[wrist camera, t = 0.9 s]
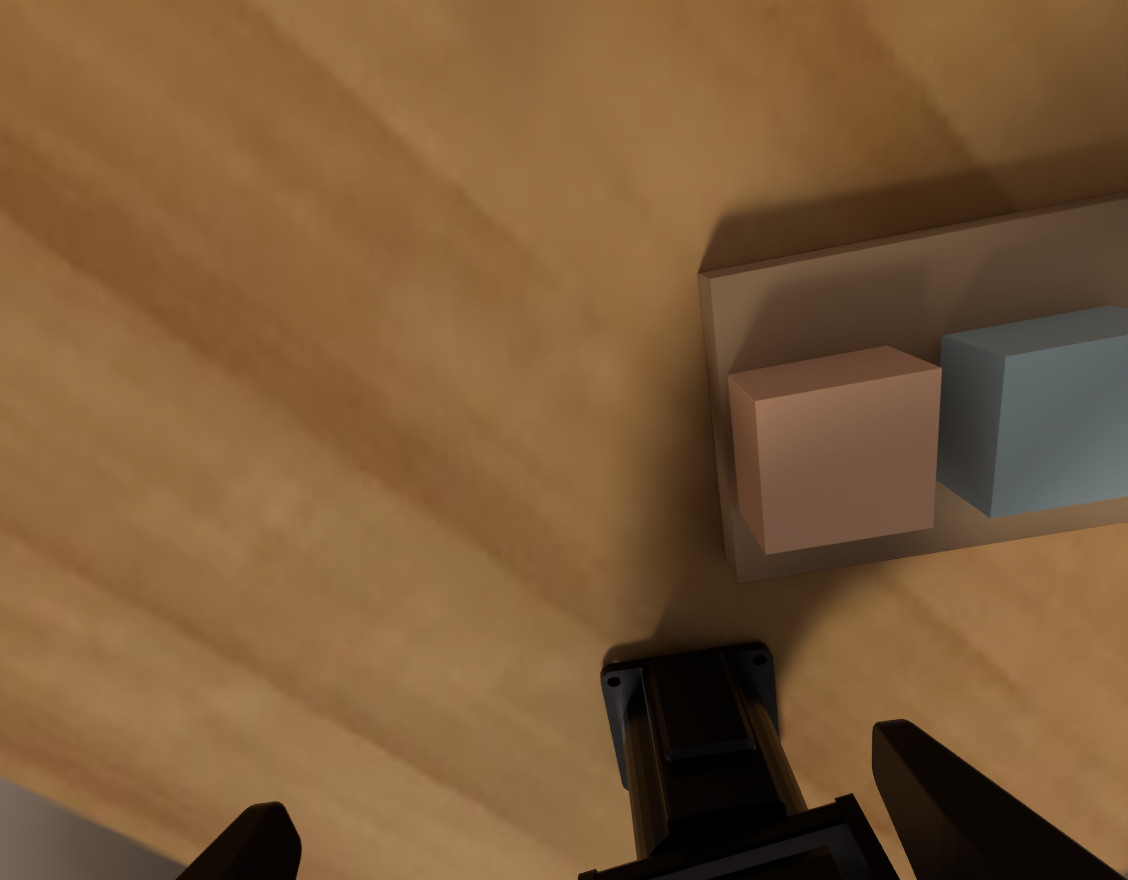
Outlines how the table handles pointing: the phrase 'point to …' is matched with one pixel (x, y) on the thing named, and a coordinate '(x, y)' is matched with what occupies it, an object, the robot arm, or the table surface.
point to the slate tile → (1036, 412)
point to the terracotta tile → (836, 447)
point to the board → (908, 343)
